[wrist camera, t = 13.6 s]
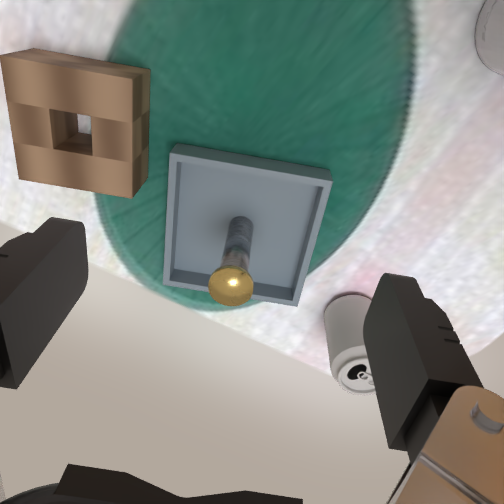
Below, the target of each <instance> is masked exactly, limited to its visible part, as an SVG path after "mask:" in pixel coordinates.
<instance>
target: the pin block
mask: <svg viewBox="0 0 504 504" xmlns="http://www.w3.org/2000/svg"><path fill="white" fill-rule="evenodd" d="M0 62H1V68H2V74H3V81H4V87H5V93H6V100H7V106H8V112H9V119H10V125H11V131H12V138H13V144H14V150H15V157H16V163H17V169H18V176H19V179H21V180H27V181H32V182H38V183H44V184H50V185H56V186H62V187H67V188H73V189H79V190H85V191H91V192H97V193H103V194H108V195H114V196H120V197H126V198H133V197H134V196H135V194H136V193H137V191H138V190H139V189H140V187H141V186H142V185H143V183H144V182H145V181H146V179H147V178H148V152H149V109H150V69H145V68H139V67H134V66H128V65H123V64H117V63H112V62H106V61H101V60H95V59H90V58H84V57H79V56H73V55H68V54H62V53H57V52H51V51H46V50H40V49H35V48H33V49H28V50H23V51H18V52H13V53H8V54H3V55H0ZM77 114H82V115H88V116H91V131H92V135H90V134H84V133H78V120H77Z"/></svg>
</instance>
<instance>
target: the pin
mask: <svg viewBox="0 0 504 504" xmlns="http://www.w3.org/2000/svg"><path fill="white" fill-rule="evenodd" d="M252 236H253V223H252V221H251V220H250V219H249V218H247V217H244V216H237V217H235V218H233V219H232V220H231V222H230V224H229V229H228V233H227V237H226V242H225V246H224V250H223V255H222V259H221V263H220V267H219V268H217V269H216V270H215V271H214V272H213V273H212V274H211V276H210V279H209V283H208V290H209V293H210V295H211V296H212V298H213V299H214V300H215V301H217V302H218V303H220V304H223V305H226V306H238V305H242V304H244V303H245V302H247V301H248V300H249V299H250V298H251V296H252V293H253V286H254V283H253V279H252V277H251V275H250V274H249V273H248V269H249V260H250V252H251V244H252Z"/></svg>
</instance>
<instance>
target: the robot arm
mask: <svg viewBox="0 0 504 504" xmlns="http://www.w3.org/2000/svg"><path fill="white" fill-rule="evenodd" d="M475 41H476V49H477V51H478V54H479V57H480V59H481V60H482V62H483V63H484V64H485V65H486V66H487V67H488V68H489V69H490V70H492V71H494V72H496V73H498V74H501V75H504V0H486V2H485V4H484V6H483V8H482V10H481V12H480V15H479V18H478V21H477V25H476V33H475ZM87 280H88V259H87V246H86V234H85V227H84V224H83V223H82V222H79V221H73V220H67V219H61V218H55V217H51V218H49V219H48V220H47V221H46V222H45V223H43V224H42V225H41V226H40V227H39V228H38V229H37V230H36V231H35V232H34V233H29V232H27V233H25V234H22V235H20V236H18V237H16V238H13V239H11V240H9V241H7V242H6V243H5V244H4V245H3V246H2V247H0V387H4V388H11V389H17V388H18V387H19V385H20V384H21V383H22V381H23V380H24V378H25V377H26V375H27V374H28V372H29V370H30V369H31V368H32V366H33V365H34V363H35V362H36V361H37V359H38V358H39V356H40V355H41V353H42V352H43V350H44V349H45V347H46V346H47V344H48V343H49V342H50V340H51V339H52V337H53V336H54V334H55V333H56V331H57V330H58V328H59V327H60V326H61V324H62V323H63V321H64V320H65V318H66V317H67V315H68V314H69V312H70V311H71V309H72V308H73V307H74V305H75V304H76V302H77V301H78V299H79V298H80V296H81V295H82V293H83V291H84V290H85V287H86V284H87ZM363 339H364V344H365V348H366V352H367V357H368V361H369V365H370V370H371V374H372V378H373V382H374V387H375V391H376V395H377V399H378V404H379V408H380V413H381V417H382V421H383V425H384V430H385V434H386V438H387V443H388V447H389V449H396V450H402V451H407V452H408V455H409V459H410V462H409V464H408V466H407V467H406V469H405V470H404V472H403V474H402V476H401V477H400V479H399V481H398V483H397V484H396V486H395V488H394V490H393V492H392V493H391V495H390V497H389V499H388V501H387V502H386V504H504V399H503V398H502V397H500V396H499V395H497V394H495V393H493V392H491V391H489V390H487V389H484V387H483V385H482V383H481V381H480V379H479V377H478V375H477V373H476V372H475V370H474V367H473V366H472V364H471V362H470V360H469V358H468V356H467V354H466V352H465V350H464V348H463V346H462V344H460V340H459V338H458V336H457V334H456V332H455V331H453V327H452V325H451V323H450V321H449V319H448V317H447V315H446V313H445V312H444V311H443V310H442V309H441V308H440V307H439V306H438V305H437V304H436V303H435V302H434V301H433V300H432V299H427V298H424V296H423V293H422V291H421V289H420V287H419V285H418V283H417V281H416V279H415V278H413V277H408V276H402V275H396V274H390V273H384V274H383V275H382V277H381V279H380V281H379V283H378V286H377V288H376V291H375V293H374V296H373V298H372V301H371V303H370V306H369V309H368V311H367V314H366V316H365V320H364V325H363ZM0 504H303V499H298V498H291V497H285V496H278V495H271V494H265V493H258V492H252V491H239V492H231V493H222V494H214V495H206V496H199V497H190V498H183V497H179V496H176V495H174V494H172V493H170V492H167V491H165V490H163V489H161V488H159V487H157V486H154V485H152V484H150V483H148V482H146V481H144V480H141V479H139V478H137V477H135V476H133V475H130V474H128V473H125V472H119V471H112V470H106V469H99V468H93V467H85V466H79V465H72V464H68V465H67V467H66V469H65V471H64V473H63V476H62V478H61V480H60V482H59V483H55V484H49V485H46V486H41V487H37V488H34V489H31V490H28V491H25V492H22V493H20V494H17V495H15V496H13V497H11V498H8V499H6V498H5V494H4V489H3V485H2V481H1V475H0Z"/></svg>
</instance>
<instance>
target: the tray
mask: <svg viewBox="0 0 504 504" xmlns="http://www.w3.org/2000/svg"><path fill="white" fill-rule="evenodd" d="M332 183H333V180H332V176H331V173H330V170H328V169H322V168H317V167H311V166H305V165H300V164H294V163H288V162H283V161H277V160H271V159H266V158H260V157H254V156H249V155H243V154H237V153H232V152H226V151H220V150H214V149H209V148H203V147H197V146H192V145H186V144H180V143H177V144H176V145H175V146H174V148H173V149H172V150H171V152H170V158H169V177H168V196H167V216H166V235H165V254H164V273H163V285H169V286H175V287H181V288H187V289H193V290H199V291H205V292H209V290H208V283H209V279H210V276H211V274H212V273H213V272H214V271H215V270H216V269H217V268H219V267H220V263H221V259H222V255H223V250H224V246H225V242H226V237H227V233H228V229H229V224H230V222H231V220H232V219H233V218H235V217H237V216H244V217H247V218H249V219H250V220H251V221H252V223H253V236H252V244H251V252H250V260H249V269H248V273H249V274H250V275H251V277H252V279H253V283H254V286H253V293H252V296H251V298H250V299H254V300H260V301H266V302H272V303H278V304H284V305H290V306H296V307H297V306H298V302H299V299H300V295H301V292H302V288H303V285H304V281H305V278H306V274H307V271H308V267H309V264H310V260H311V257H312V253H313V250H314V246H315V243H316V239H317V236H318V232H319V229H320V225H321V221H322V218H323V214H324V211H325V207H326V204H327V200H328V197H329V193H330V190H331V186H332Z"/></svg>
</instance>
